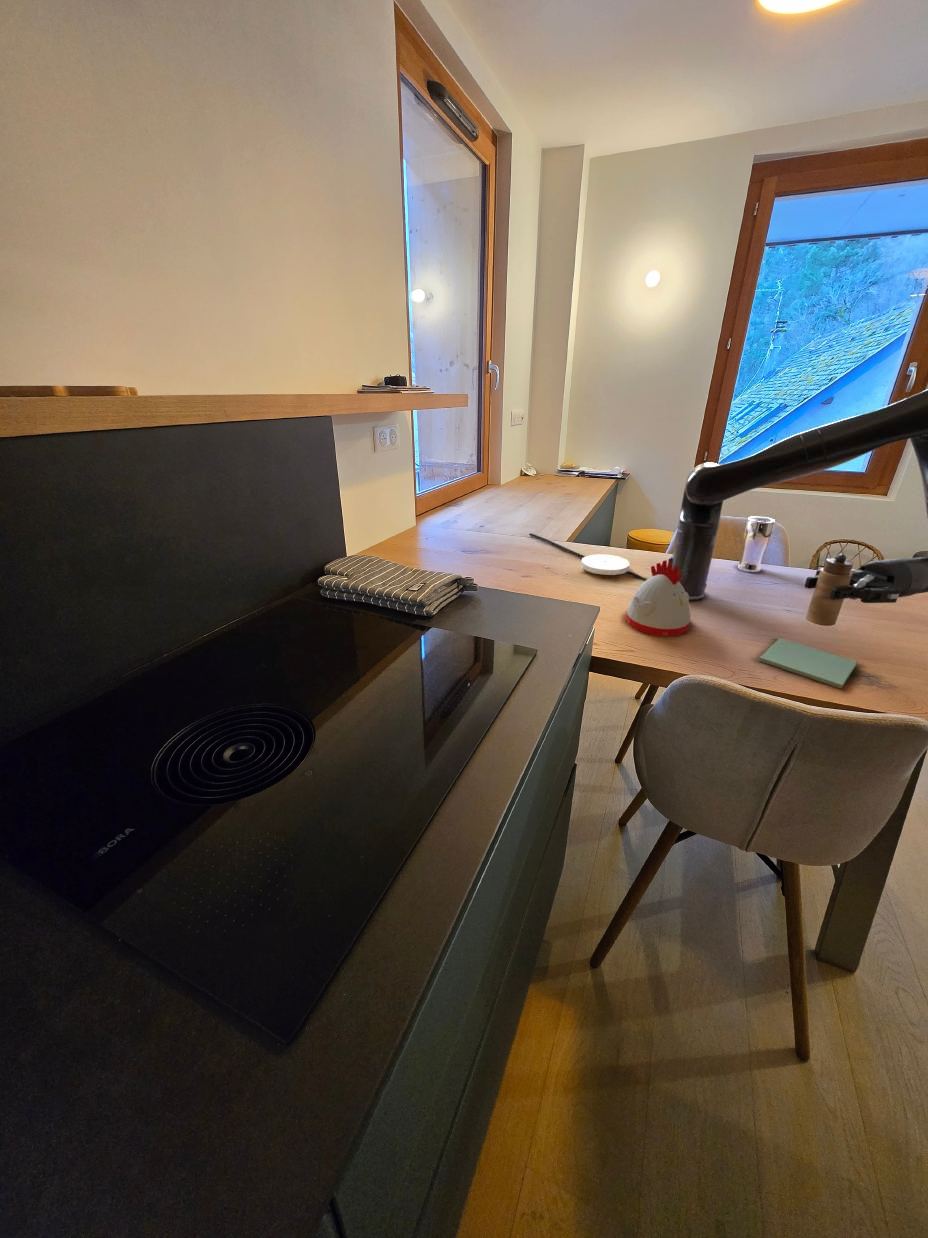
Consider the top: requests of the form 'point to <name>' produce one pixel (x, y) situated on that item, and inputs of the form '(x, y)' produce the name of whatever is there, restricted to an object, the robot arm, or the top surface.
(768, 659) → the rubber mat
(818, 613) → the pepper mill
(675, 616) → the kitchen timer
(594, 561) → the plastic lid
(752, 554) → the beer glass
